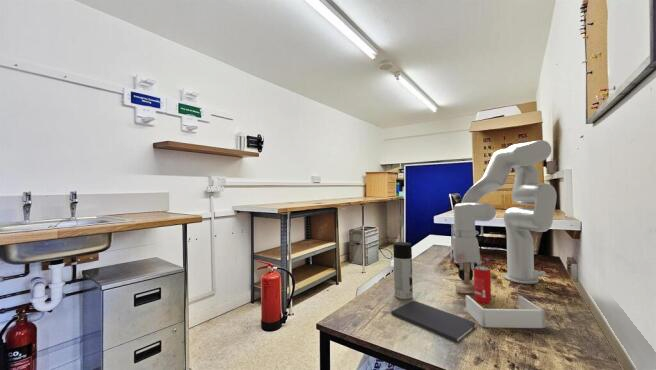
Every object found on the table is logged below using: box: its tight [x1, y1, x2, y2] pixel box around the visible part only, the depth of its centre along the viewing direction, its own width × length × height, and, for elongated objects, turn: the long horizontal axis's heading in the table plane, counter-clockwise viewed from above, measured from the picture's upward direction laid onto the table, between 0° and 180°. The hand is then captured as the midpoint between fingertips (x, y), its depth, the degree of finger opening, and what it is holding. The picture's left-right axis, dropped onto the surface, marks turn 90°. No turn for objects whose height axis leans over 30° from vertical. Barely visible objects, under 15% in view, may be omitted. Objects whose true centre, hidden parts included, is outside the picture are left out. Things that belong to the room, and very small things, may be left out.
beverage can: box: [473, 265, 492, 305], centre depth 96 cm, size 5×5×12 cm
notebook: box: [391, 300, 477, 343], centre depth 84 cm, size 13×2×21 cm
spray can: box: [393, 241, 414, 301], centre depth 102 cm, size 7×7×20 cm
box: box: [465, 294, 546, 329], centre depth 84 cm, size 18×11×5 cm, turn 87°
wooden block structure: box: [455, 263, 474, 294], centre depth 108 cm, size 12×9×11 cm
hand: (465, 278), depth 110 cm, fingers closed on wooden block structure, 2 cm apart
